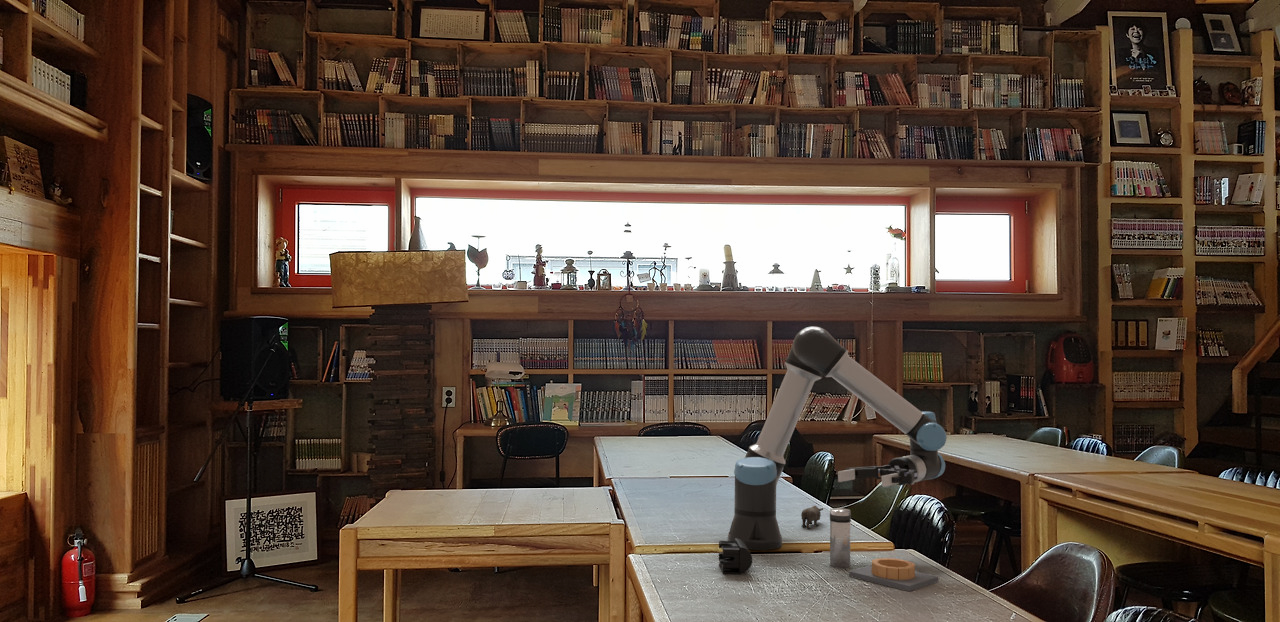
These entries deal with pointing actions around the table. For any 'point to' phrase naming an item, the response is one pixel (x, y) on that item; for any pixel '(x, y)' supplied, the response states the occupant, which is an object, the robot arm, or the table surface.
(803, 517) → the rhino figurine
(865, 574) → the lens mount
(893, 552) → the table surface
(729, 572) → the end cap
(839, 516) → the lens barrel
